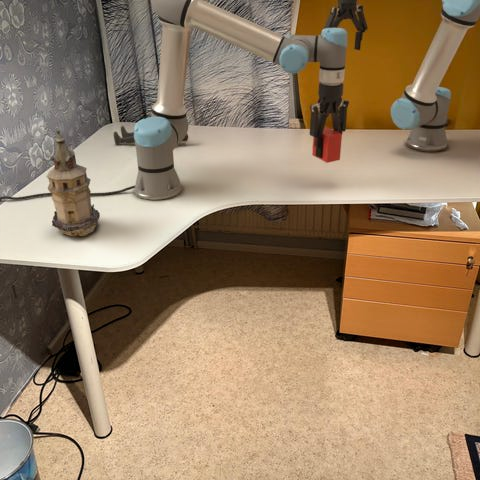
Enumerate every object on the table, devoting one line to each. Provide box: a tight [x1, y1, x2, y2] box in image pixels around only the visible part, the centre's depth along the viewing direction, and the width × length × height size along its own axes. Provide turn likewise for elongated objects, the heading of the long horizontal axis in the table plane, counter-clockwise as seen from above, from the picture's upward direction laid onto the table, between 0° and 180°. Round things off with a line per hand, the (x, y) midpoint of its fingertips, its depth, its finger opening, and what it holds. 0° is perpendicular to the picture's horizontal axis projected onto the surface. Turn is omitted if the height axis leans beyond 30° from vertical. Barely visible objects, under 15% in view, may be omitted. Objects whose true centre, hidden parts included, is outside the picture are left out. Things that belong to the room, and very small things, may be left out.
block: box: [311, 126, 343, 164], centre depth 173 cm, size 5×8×9 cm, turn 29°
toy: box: [113, 125, 189, 146], centre depth 218 cm, size 26×6×30 cm
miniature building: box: [46, 129, 101, 237], centre depth 148 cm, size 13×14×30 cm
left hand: (326, 154), depth 175 cm, fingers closed on block, 5 cm apart
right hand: (343, 51), depth 212 cm, fingers open, 13 cm apart
